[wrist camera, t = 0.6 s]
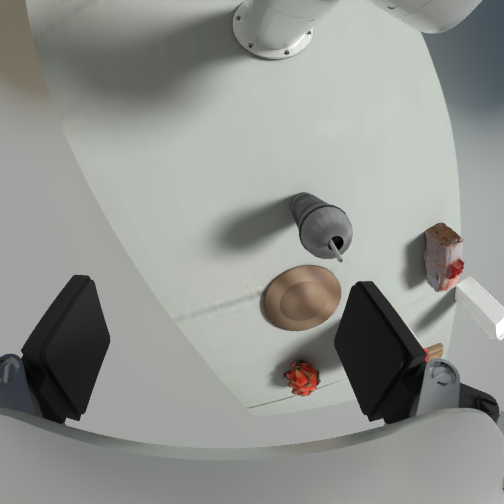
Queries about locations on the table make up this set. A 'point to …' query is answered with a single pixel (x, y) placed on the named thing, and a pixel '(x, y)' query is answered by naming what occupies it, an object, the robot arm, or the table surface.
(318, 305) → the brown round plate
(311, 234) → the beverage cup
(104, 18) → the table surface
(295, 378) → the dragon fruit
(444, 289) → the food item
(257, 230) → the table surface
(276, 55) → the robot arm
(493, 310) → the milk
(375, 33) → the table surface
